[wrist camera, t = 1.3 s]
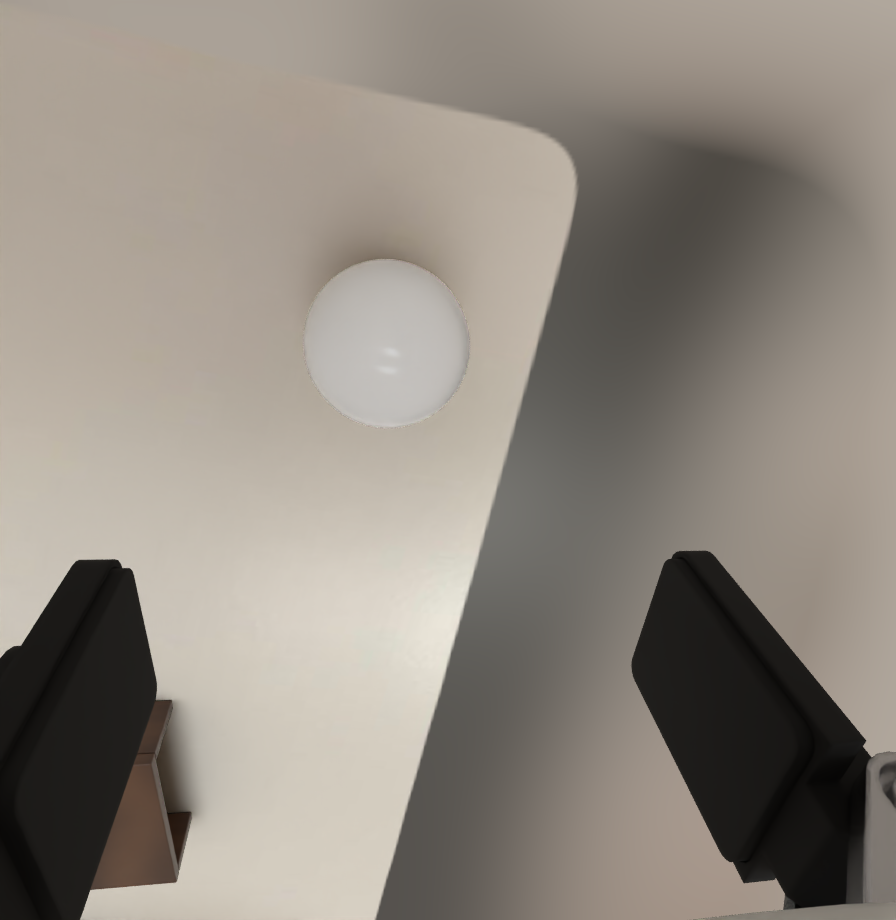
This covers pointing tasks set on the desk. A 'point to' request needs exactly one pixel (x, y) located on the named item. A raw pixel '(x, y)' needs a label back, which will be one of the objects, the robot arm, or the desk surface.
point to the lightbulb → (386, 343)
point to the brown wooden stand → (144, 821)
